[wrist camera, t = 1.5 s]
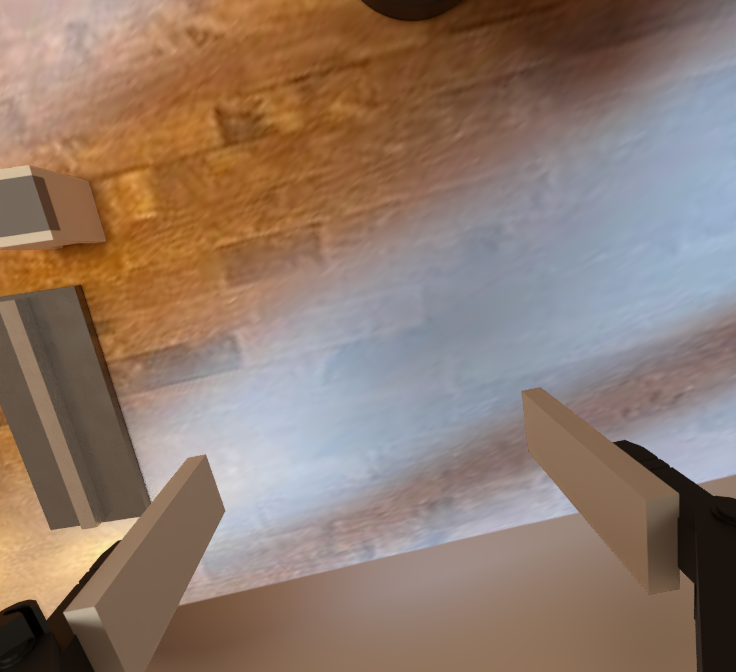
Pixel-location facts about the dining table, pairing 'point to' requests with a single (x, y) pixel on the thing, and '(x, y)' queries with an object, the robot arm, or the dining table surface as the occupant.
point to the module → (46, 210)
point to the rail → (66, 411)
